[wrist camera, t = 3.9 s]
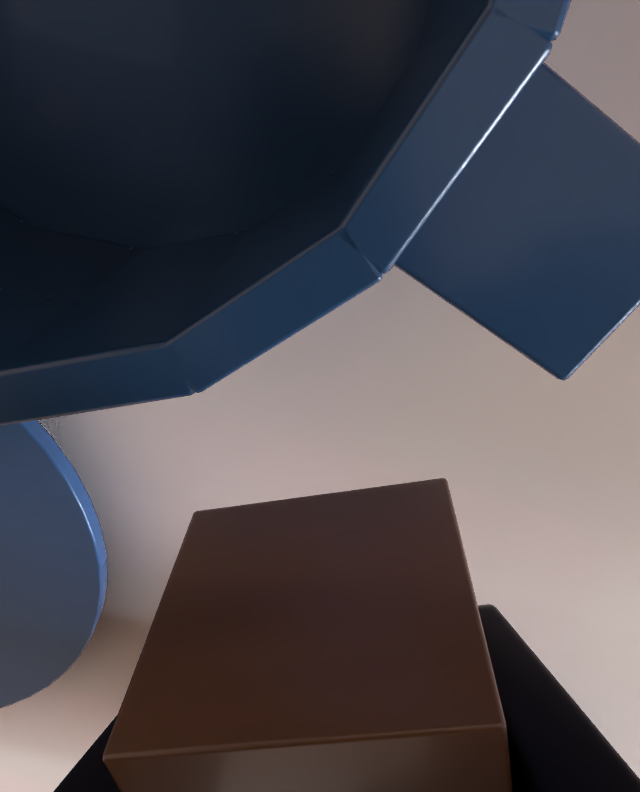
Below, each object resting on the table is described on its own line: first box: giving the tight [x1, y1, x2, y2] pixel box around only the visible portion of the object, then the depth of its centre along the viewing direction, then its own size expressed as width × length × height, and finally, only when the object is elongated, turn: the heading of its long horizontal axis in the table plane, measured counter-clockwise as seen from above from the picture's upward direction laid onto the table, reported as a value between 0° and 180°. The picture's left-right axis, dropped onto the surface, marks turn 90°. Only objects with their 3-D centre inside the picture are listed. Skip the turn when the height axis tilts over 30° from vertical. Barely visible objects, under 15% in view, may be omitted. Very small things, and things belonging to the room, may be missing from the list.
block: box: [103, 478, 513, 792], centre depth 8 cm, size 4×4×4 cm
